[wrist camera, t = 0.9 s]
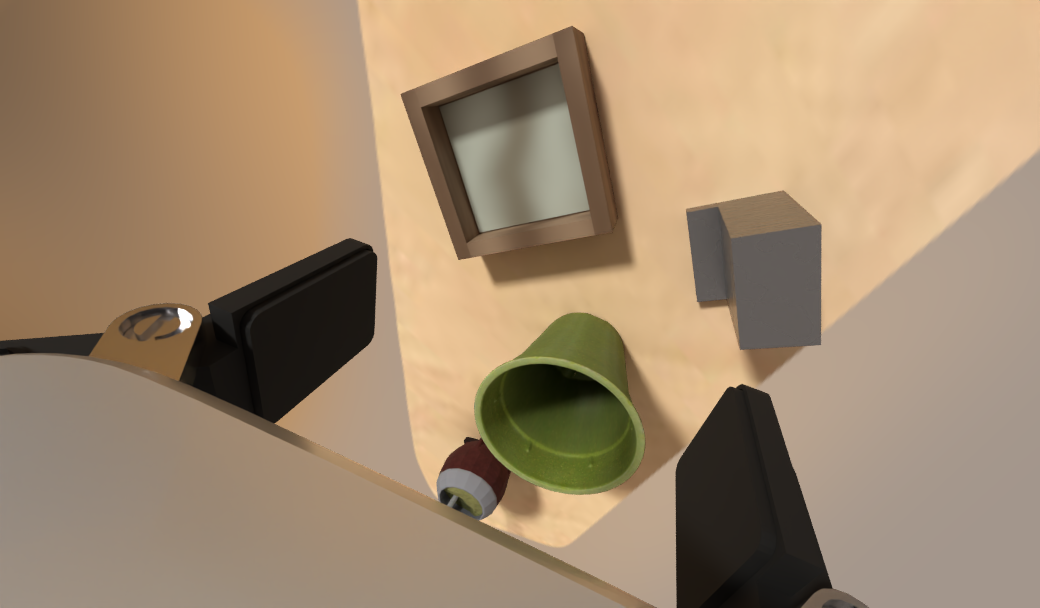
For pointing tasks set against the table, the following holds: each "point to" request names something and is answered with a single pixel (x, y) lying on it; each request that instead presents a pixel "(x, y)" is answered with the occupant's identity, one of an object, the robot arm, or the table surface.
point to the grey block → (760, 267)
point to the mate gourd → (472, 480)
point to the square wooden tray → (516, 148)
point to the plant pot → (564, 410)
